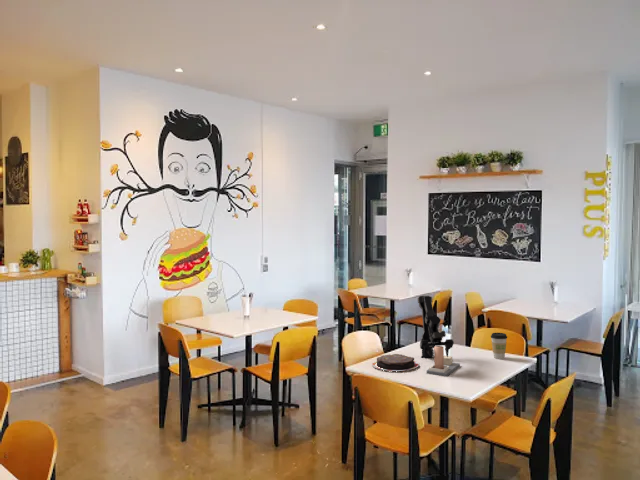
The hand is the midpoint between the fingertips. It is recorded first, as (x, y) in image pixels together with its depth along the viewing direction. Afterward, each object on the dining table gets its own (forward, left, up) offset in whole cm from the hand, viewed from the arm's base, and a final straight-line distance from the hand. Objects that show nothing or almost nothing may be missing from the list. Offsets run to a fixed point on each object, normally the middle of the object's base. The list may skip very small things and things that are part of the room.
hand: (439, 357), depth 298 cm
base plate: (0, +7, -9) cm, 12 cm away
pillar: (-1, +1, -8) cm, 8 cm away
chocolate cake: (-28, +2, -10) cm, 30 cm away
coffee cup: (+22, +47, -9) cm, 52 cm away
